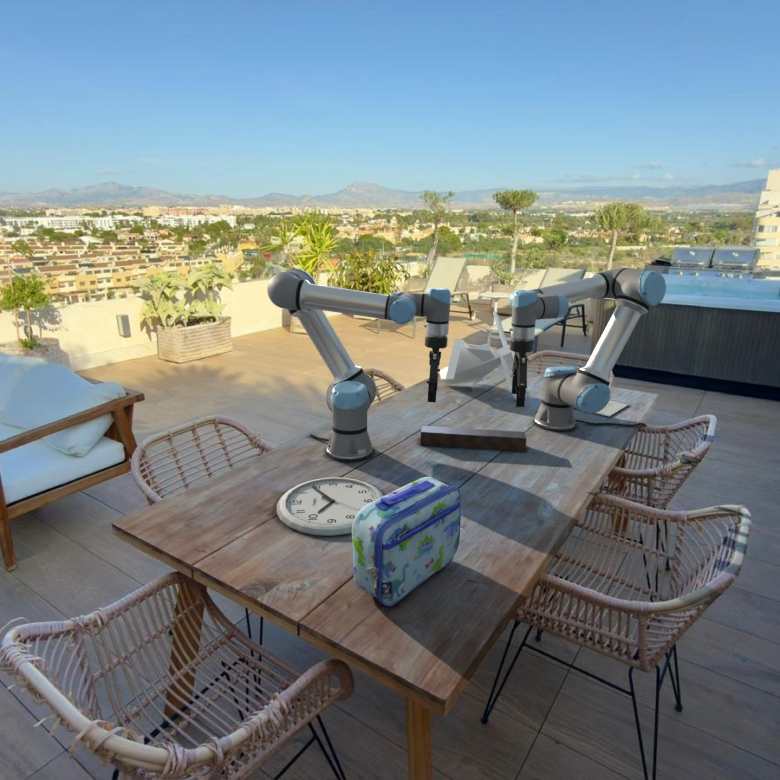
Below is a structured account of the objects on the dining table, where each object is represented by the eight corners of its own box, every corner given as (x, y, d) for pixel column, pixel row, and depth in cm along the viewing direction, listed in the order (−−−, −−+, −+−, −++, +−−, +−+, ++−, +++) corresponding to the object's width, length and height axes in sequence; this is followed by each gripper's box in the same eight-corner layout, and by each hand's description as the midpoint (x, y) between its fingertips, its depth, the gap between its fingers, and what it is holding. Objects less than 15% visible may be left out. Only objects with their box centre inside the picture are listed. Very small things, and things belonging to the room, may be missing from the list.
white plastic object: (461, 429, 252) (437, 405, 227) (444, 352, 274) (420, 323, 250) (535, 404, 240) (518, 377, 215) (510, 326, 262) (492, 293, 237)
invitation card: (608, 416, 214) (573, 407, 224) (608, 416, 214) (573, 408, 224) (628, 404, 229) (594, 396, 238) (628, 405, 229) (594, 397, 238)
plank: (522, 444, 185) (524, 431, 183) (525, 451, 179) (526, 438, 178) (421, 438, 189) (421, 425, 187) (420, 445, 183) (420, 431, 182)
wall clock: (392, 527, 129) (268, 531, 127) (391, 533, 130) (269, 537, 127) (383, 473, 158) (282, 475, 155) (383, 478, 158) (282, 480, 156)
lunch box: (381, 619, 101) (382, 525, 95) (345, 592, 109) (344, 503, 102) (464, 563, 119) (469, 480, 113) (428, 543, 126) (432, 464, 120)
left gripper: (427, 327, 186) (423, 384, 193) (423, 342, 163) (419, 406, 169) (448, 328, 186) (444, 386, 192) (447, 343, 162) (442, 408, 168)
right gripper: (506, 330, 183) (503, 388, 190) (514, 347, 160) (509, 412, 166) (528, 331, 182) (524, 389, 189) (539, 347, 159) (534, 413, 165)
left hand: (432, 395), depth 180 cm, fingers open, 13 cm apart
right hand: (517, 400), depth 178 cm, fingers open, 13 cm apart
